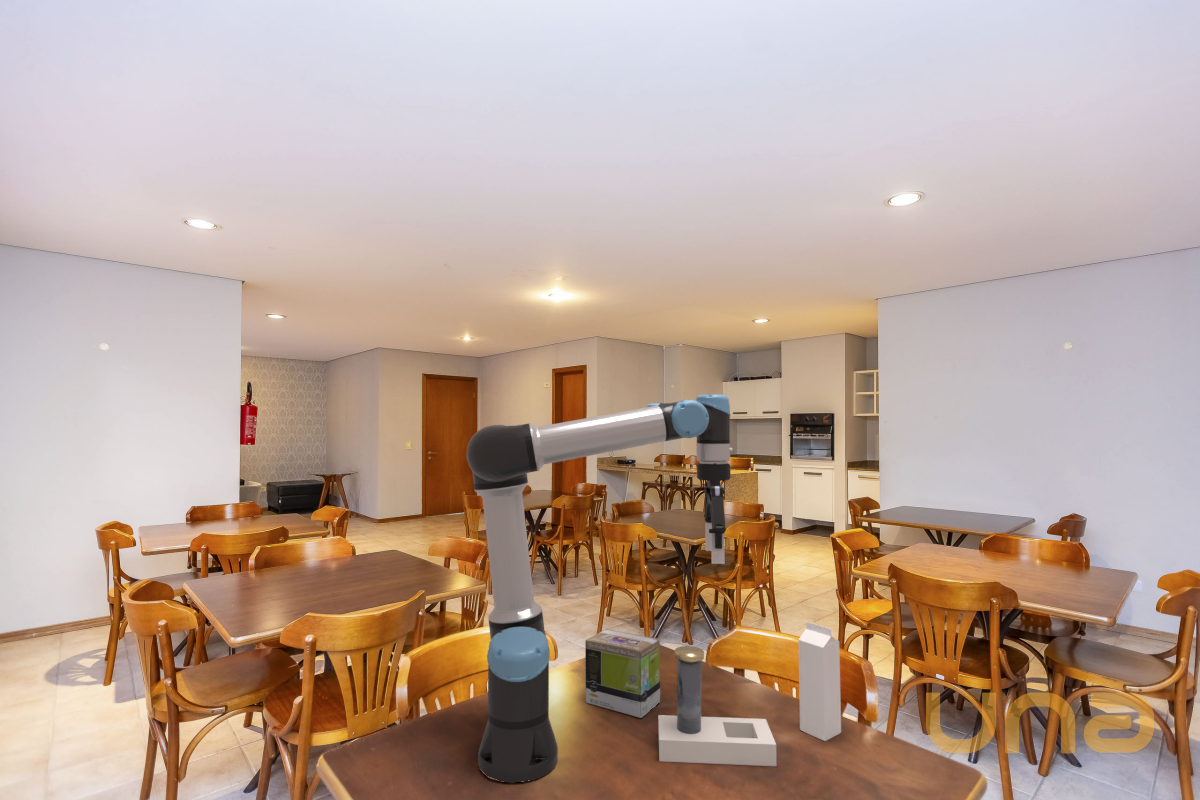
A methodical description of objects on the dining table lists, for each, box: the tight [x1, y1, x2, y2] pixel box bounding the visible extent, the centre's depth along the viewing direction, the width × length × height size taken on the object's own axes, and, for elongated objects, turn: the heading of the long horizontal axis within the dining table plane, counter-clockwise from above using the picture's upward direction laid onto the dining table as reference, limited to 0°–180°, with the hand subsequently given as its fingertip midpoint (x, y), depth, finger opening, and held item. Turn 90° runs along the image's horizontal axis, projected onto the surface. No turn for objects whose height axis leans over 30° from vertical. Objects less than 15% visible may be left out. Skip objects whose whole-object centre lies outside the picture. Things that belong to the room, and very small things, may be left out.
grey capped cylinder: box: [674, 645, 705, 734], centre depth 120 cm, size 6×6×15 cm
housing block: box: [657, 714, 778, 767], centre depth 119 cm, size 22×10×4 cm, turn 85°
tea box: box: [584, 628, 661, 719], centre depth 139 cm, size 15×10×15 cm, turn 58°
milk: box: [798, 621, 842, 742], centre depth 126 cm, size 6×6×22 cm
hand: (714, 556), depth 135 cm, fingers open, 13 cm apart
